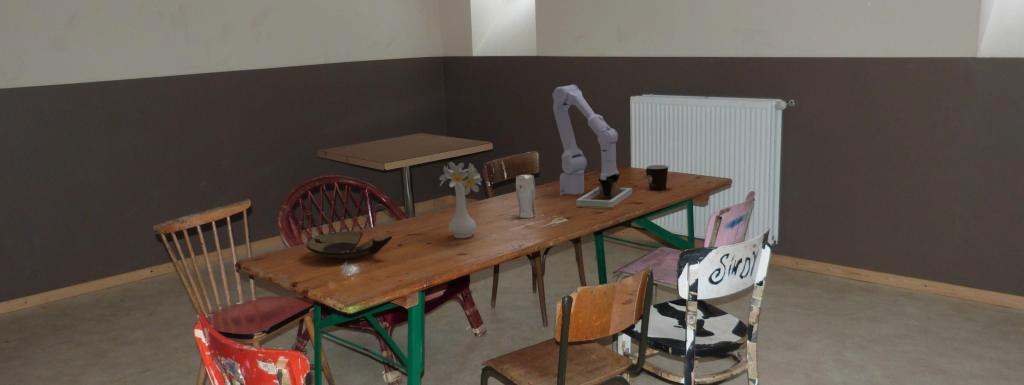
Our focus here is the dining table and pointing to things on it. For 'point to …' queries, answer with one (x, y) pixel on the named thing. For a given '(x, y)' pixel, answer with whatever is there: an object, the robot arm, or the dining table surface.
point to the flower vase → (461, 197)
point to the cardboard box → (614, 190)
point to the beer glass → (525, 195)
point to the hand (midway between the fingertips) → (609, 194)
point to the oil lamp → (345, 245)
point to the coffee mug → (657, 177)
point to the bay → (587, 200)
